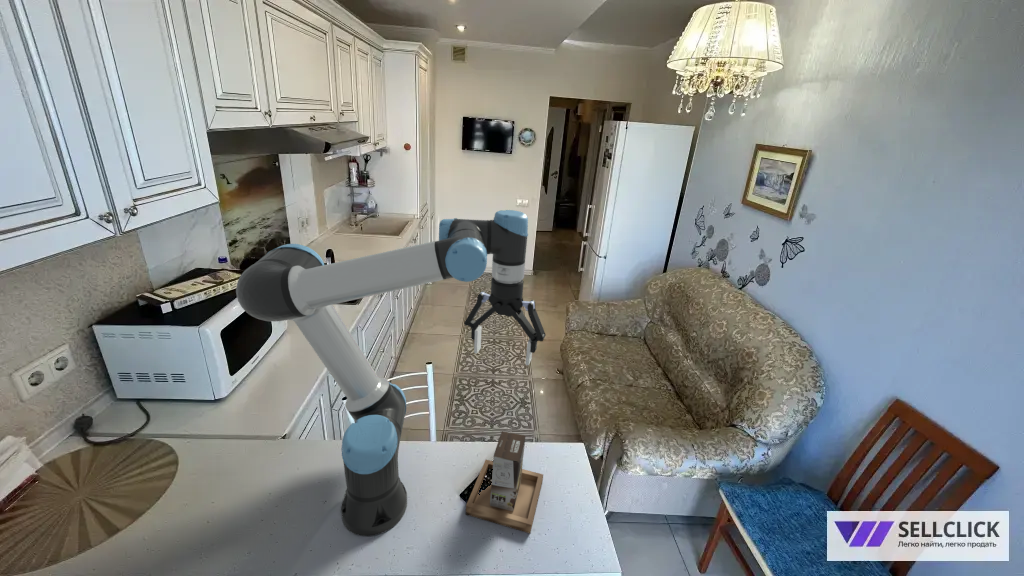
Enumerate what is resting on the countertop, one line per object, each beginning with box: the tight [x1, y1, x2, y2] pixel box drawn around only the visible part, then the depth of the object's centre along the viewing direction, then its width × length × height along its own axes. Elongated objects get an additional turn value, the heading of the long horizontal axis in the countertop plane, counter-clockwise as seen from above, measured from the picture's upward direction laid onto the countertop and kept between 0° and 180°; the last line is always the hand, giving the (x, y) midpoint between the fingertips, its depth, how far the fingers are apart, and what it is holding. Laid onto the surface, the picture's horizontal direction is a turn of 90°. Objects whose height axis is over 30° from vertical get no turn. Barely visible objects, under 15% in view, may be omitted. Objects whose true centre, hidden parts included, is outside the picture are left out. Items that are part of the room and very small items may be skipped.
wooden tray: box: [465, 459, 544, 534], centre depth 103 cm, size 16×15×3 cm
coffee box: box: [490, 431, 526, 511], centre depth 101 cm, size 9×6×16 cm
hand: (502, 356), depth 102 cm, fingers open, 13 cm apart
